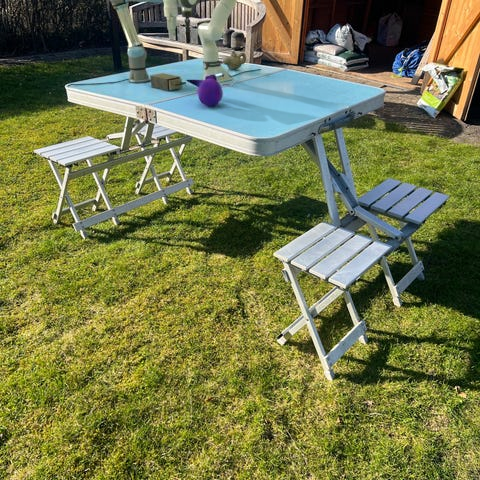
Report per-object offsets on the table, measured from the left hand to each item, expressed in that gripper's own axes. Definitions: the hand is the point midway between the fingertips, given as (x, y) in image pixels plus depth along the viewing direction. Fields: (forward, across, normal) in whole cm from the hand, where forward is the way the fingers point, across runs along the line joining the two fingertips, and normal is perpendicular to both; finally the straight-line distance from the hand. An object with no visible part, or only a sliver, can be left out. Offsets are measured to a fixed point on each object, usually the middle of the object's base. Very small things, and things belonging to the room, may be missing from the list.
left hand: (188, 42), depth 342 cm
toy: (+24, -94, -10) cm, 98 cm away
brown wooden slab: (+25, -42, +17) cm, 52 cm away
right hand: (-9, -45, +10) cm, 47 cm away
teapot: (+24, +18, -36) cm, 47 cm away
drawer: (+24, -46, +14) cm, 54 cm away
